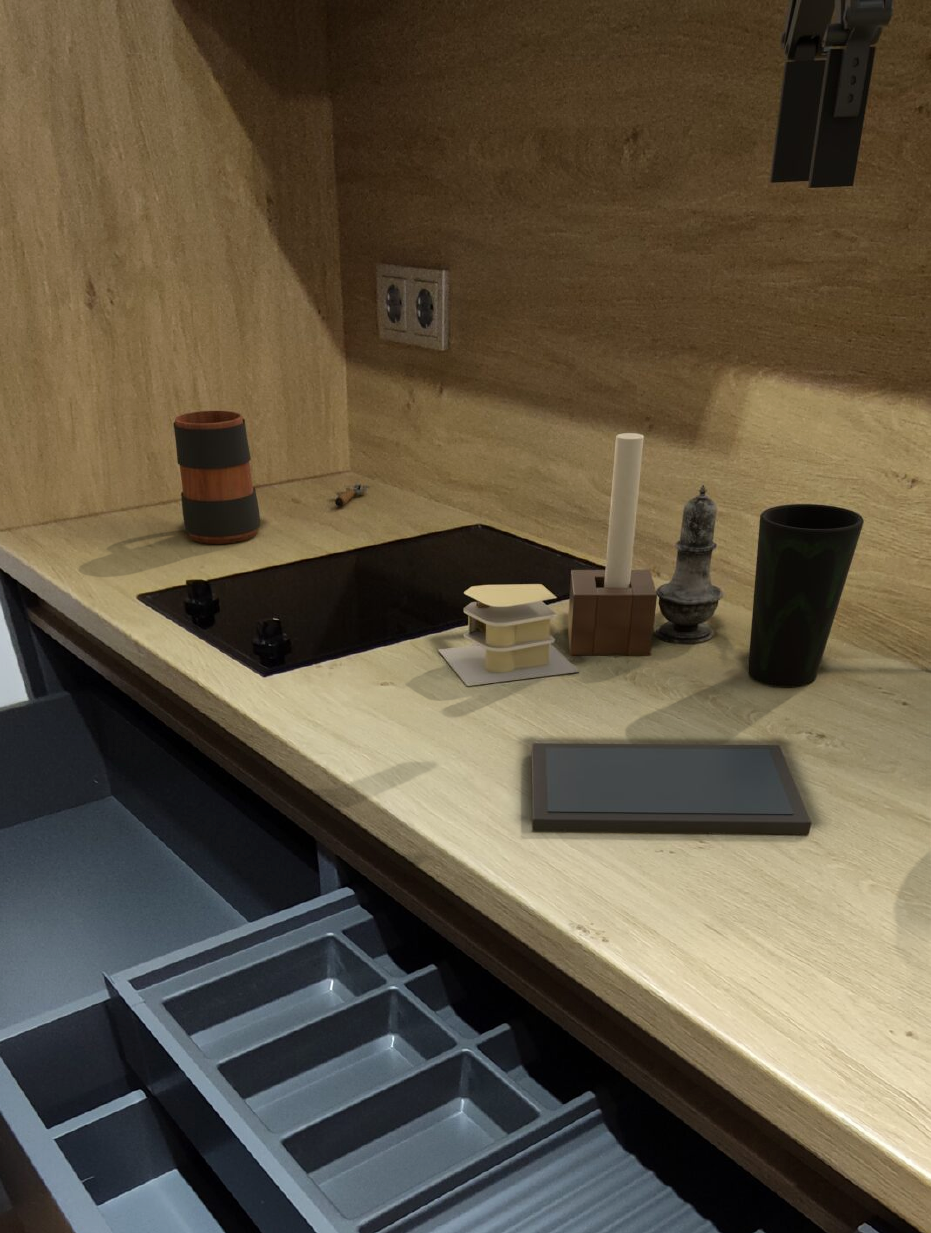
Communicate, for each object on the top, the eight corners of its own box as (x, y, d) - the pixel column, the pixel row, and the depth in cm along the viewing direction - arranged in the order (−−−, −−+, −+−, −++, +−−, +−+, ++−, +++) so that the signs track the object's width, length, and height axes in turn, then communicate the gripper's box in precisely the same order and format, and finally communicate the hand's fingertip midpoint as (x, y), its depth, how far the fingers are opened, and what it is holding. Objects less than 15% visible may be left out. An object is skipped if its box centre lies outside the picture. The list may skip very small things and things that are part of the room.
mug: (230, 514, 134) (216, 401, 126) (274, 537, 126) (261, 418, 119) (163, 526, 131) (144, 410, 123) (204, 550, 123) (186, 428, 115)
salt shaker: (640, 637, 100) (655, 488, 92) (669, 618, 104) (686, 473, 96) (700, 649, 97) (721, 497, 89) (727, 629, 101) (750, 481, 93)
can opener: (343, 508, 135) (342, 497, 134) (325, 506, 136) (324, 496, 135) (371, 490, 141) (371, 480, 140) (354, 489, 142) (354, 479, 141)
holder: (644, 627, 102) (650, 569, 98) (650, 655, 97) (657, 594, 93) (567, 627, 102) (571, 569, 99) (570, 654, 97) (573, 594, 94)
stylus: (623, 636, 100) (642, 432, 89) (625, 645, 99) (644, 438, 88) (599, 636, 100) (615, 432, 90) (600, 645, 99) (617, 438, 88)
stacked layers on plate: (543, 637, 100) (546, 572, 97) (579, 672, 94) (584, 603, 90) (437, 650, 99) (436, 584, 95) (467, 686, 92) (467, 617, 88)
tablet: (777, 756, 81) (780, 743, 80) (809, 834, 72) (812, 821, 71) (531, 754, 82) (531, 741, 81) (532, 831, 73) (532, 818, 73)
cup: (735, 655, 96) (760, 502, 88) (826, 660, 95) (859, 504, 87) (734, 689, 91) (761, 528, 82) (831, 694, 89) (867, 531, 81)
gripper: (771, -241, 73) (726, 182, 87) (865, -375, 54) (788, 192, 68) (887, -249, 72) (823, 177, 86) (1024, -387, 53) (914, 186, 67)
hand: (808, 184), depth 77 cm, fingers open, 13 cm apart
